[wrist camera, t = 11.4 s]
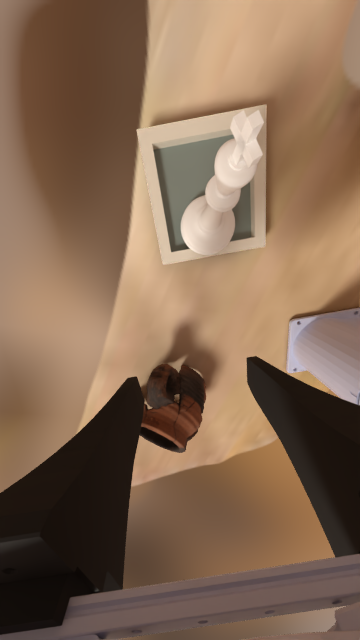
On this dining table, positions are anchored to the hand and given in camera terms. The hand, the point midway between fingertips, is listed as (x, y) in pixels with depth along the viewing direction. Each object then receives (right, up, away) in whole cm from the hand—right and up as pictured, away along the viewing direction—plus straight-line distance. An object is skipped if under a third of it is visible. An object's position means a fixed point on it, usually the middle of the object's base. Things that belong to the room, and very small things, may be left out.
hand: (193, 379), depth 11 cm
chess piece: (+2, +13, +5) cm, 14 cm away
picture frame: (+1, +15, +6) cm, 16 cm away
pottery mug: (-2, -5, +13) cm, 14 cm away
